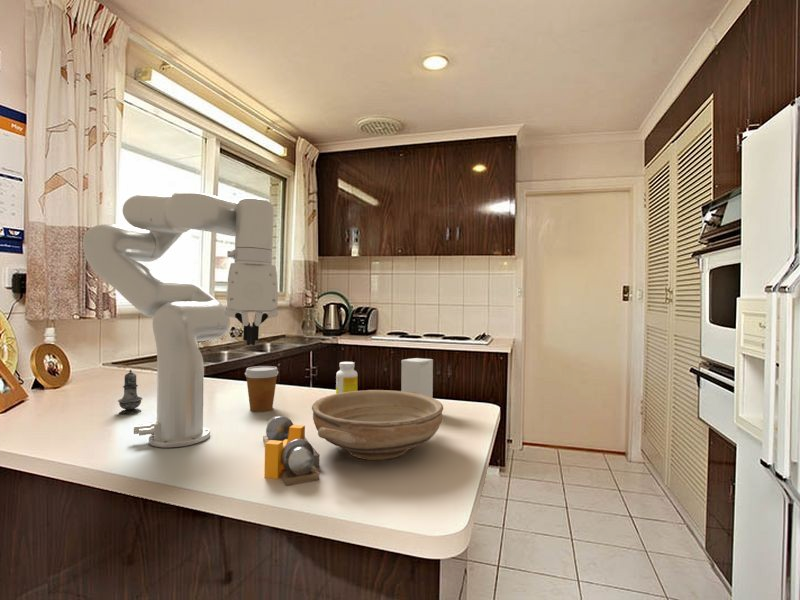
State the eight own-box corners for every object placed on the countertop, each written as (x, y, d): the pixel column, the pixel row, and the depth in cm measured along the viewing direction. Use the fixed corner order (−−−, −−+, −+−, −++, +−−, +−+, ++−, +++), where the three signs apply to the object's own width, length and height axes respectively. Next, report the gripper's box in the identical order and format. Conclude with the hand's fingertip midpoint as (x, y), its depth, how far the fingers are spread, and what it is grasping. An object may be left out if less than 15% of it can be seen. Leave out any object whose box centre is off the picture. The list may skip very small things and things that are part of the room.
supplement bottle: (361, 403, 135) (362, 362, 135) (348, 407, 129) (348, 365, 129) (345, 400, 138) (345, 360, 138) (331, 404, 133) (331, 363, 133)
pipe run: (285, 485, 75) (286, 449, 75) (263, 441, 98) (263, 413, 98) (327, 478, 79) (327, 443, 79) (295, 436, 102) (296, 409, 101)
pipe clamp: (285, 454, 91) (285, 423, 91) (304, 456, 90) (304, 425, 90) (255, 477, 79) (256, 442, 79) (277, 479, 78) (278, 444, 78)
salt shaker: (112, 413, 119) (113, 370, 119) (132, 408, 125) (133, 367, 125) (127, 415, 117) (127, 372, 117) (147, 410, 123) (147, 368, 122)
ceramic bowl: (367, 419, 117) (368, 382, 117) (467, 435, 104) (467, 394, 104) (267, 464, 85) (268, 414, 85) (395, 498, 71) (396, 438, 71)
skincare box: (418, 418, 119) (419, 362, 119) (398, 414, 123) (399, 359, 123) (433, 411, 126) (434, 358, 126) (414, 408, 130) (415, 356, 129)
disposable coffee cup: (259, 415, 120) (259, 372, 120) (237, 410, 125) (237, 368, 125) (285, 407, 128) (285, 367, 128) (263, 403, 133) (263, 364, 133)
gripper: (214, 254, 85) (211, 347, 85) (292, 259, 90) (288, 346, 91) (215, 256, 92) (212, 342, 92) (287, 261, 97) (284, 342, 98)
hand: (250, 344), depth 91 cm, fingers closed
